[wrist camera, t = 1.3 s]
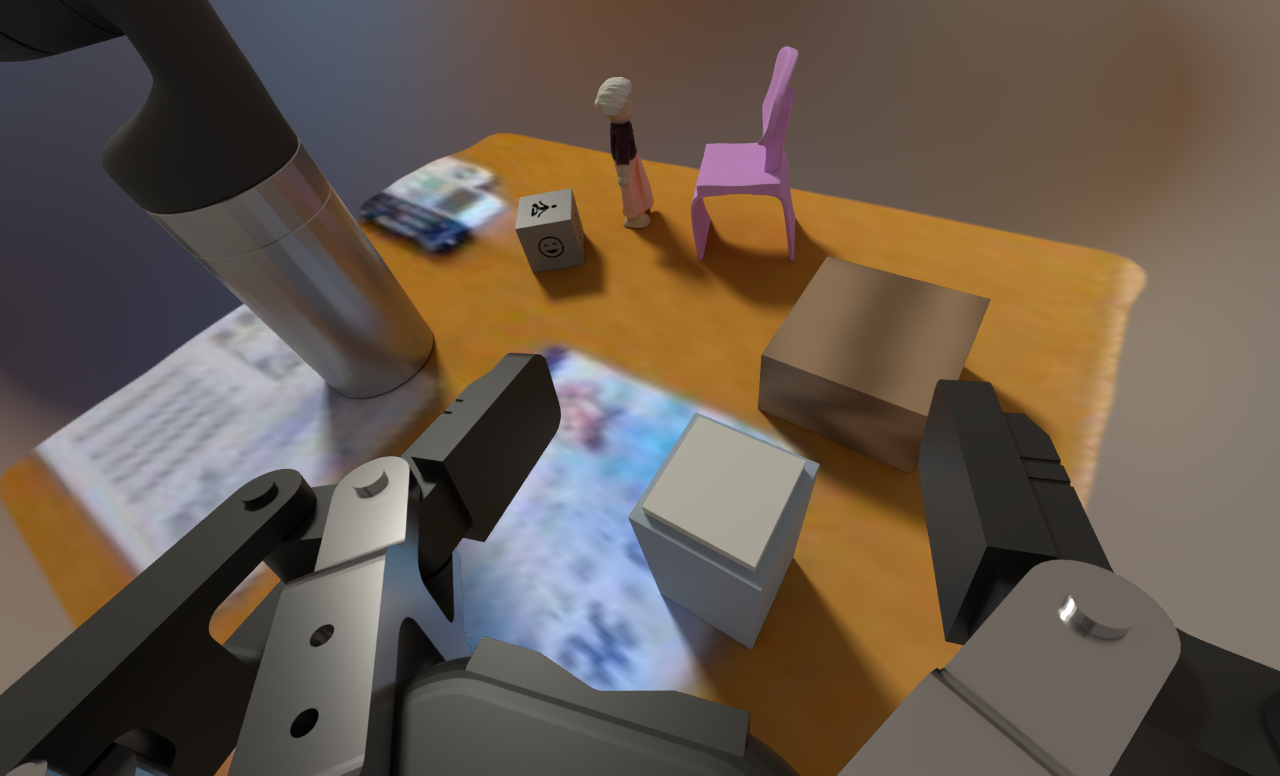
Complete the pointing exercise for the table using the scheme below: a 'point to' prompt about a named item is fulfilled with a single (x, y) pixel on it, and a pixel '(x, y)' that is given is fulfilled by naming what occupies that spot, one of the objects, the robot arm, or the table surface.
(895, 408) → the walnut block
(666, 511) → the slate-blue canister
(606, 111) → the grandmother figurine
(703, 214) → the toy chair
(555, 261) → the dice cube
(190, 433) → the table surface
